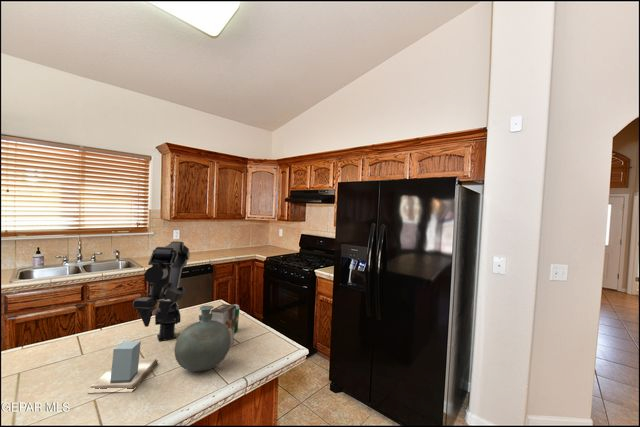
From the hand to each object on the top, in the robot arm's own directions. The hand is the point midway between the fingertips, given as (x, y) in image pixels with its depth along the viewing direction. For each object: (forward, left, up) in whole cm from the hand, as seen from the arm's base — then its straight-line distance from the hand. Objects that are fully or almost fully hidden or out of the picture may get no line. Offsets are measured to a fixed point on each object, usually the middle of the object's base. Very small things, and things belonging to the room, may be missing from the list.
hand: (155, 323), depth 95 cm
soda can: (-8, +33, -13) cm, 36 cm away
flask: (+18, +13, -13) cm, 25 cm away
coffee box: (+4, +24, -13) cm, 27 cm away
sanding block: (+13, -9, -11) cm, 19 cm away
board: (+9, -8, -13) cm, 17 cm away
